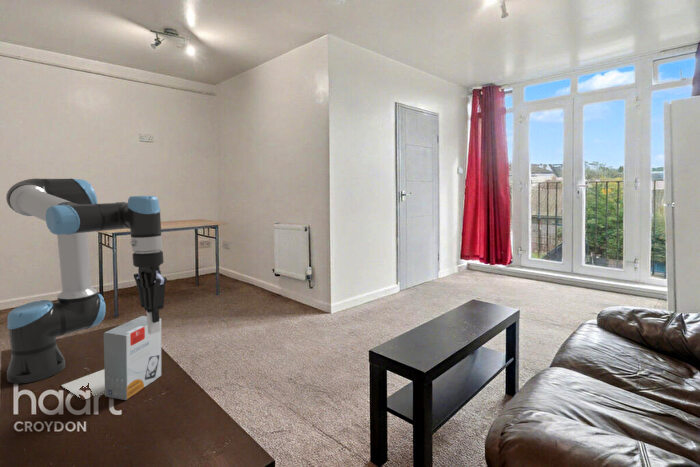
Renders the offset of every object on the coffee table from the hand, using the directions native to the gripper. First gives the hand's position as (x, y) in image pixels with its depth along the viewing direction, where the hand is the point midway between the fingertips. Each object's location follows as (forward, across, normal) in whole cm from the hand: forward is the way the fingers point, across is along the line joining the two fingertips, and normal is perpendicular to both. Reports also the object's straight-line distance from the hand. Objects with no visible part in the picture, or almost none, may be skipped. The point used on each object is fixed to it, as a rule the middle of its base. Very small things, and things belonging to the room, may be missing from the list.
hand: (154, 332), depth 108 cm
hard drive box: (+20, -14, 0) cm, 24 cm away
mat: (+20, -26, -5) cm, 33 cm away
